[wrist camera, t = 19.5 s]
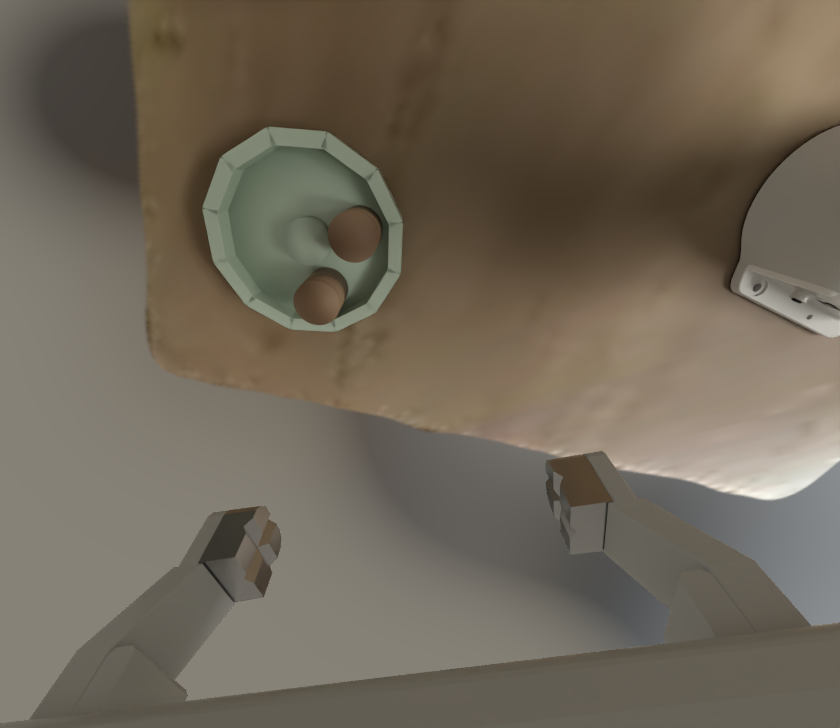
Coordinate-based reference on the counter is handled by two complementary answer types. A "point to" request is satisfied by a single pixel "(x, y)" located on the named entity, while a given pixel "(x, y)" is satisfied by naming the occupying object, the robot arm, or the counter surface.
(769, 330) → the counter surface
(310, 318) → the brown short cylinder
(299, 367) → the counter surface
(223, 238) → the tray
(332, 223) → the bead
